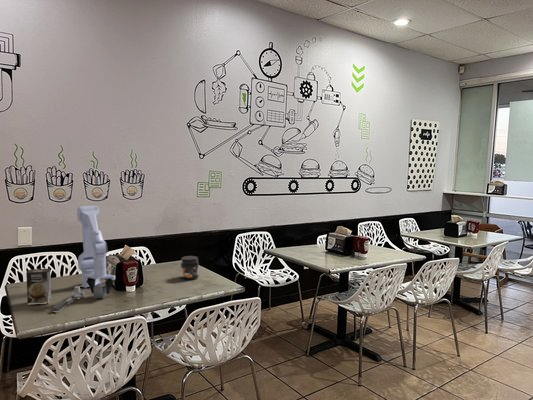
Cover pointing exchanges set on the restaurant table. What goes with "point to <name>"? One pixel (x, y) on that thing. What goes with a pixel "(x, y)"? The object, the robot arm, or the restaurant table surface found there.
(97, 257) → the robot arm
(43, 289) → the cookie box
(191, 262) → the supplement container
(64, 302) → the ratchet
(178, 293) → the restaurant table surface
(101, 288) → the brushed metal cube
